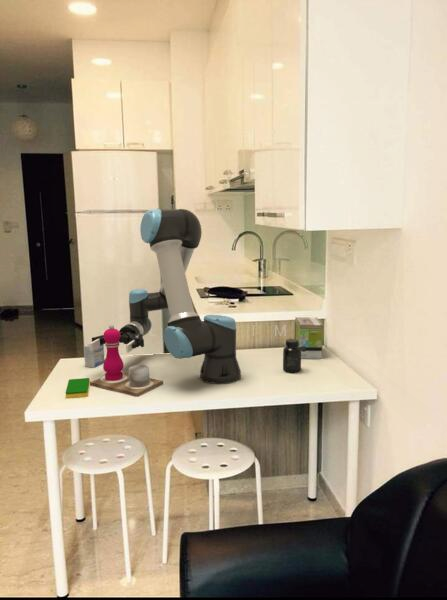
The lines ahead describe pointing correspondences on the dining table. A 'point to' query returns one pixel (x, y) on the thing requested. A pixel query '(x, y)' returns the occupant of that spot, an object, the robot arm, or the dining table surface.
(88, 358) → the medicine box
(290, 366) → the supplement bottle
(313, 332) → the tea box
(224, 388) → the dining table surface
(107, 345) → the pepper mill
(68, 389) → the dish sponge
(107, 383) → the board
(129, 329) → the robot arm
